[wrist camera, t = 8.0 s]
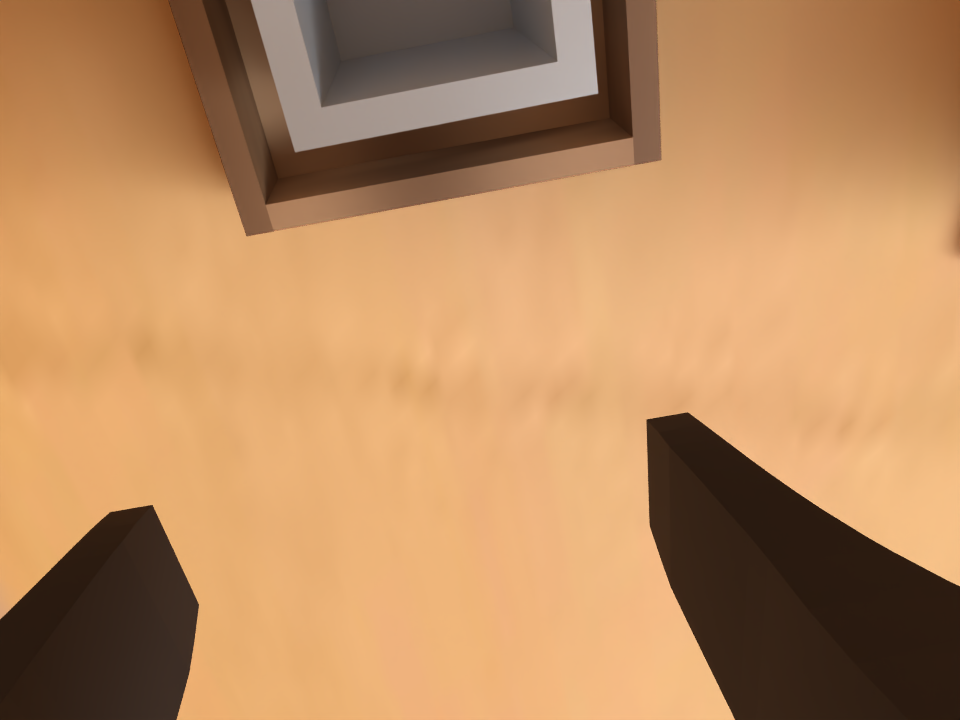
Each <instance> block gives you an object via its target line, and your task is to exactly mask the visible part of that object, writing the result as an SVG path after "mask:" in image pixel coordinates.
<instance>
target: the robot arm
mask: <svg viewBox="0 0 960 720" xmlns="http://www.w3.org/2000/svg"><path fill="white" fill-rule="evenodd" d="M647 452H648V485H649V518H650V528H651V531H652V534H653V537H654V540H655V543H656V546H657V549H658V552H659V555H660V558H661V561H662V563H663V566H664V569H665V572H666V575H667V577H668V580H669V583H670V586H671V588H672V590H673V592H674V595H675V597H676V599H677V601H678V603H679V605H680V607H681V609H682V611H683V613H684V616H685V618H686V620H687V622H688V624H689V626H690V628H691V630H692V632H693V634H694V636H695V638H696V640H697V642H698V644H699V646H700V649H701V651H702V653H703V655H704V657H705V659H706V661H707V663H708V665H709V667H710V669H711V671H712V673H713V675H714V677H715V679H716V681H717V683H718V685H719V687H720V689H721V691H722V694H723V696H724V698H725V700H726V702H727V704H728V706H729V708H730V710H731V712H732V714H733V716H734V718H735V720H960V586H958V585H956V584H954V583H951V582H949V581H947V580H945V579H943V578H942V577H940V576H938V575H936V574H934V573H932V572H930V571H928V570H926V569H924V568H923V567H921V566H919V565H917V564H915V563H913V562H911V561H909V560H907V559H906V558H904V557H902V556H900V555H898V554H896V553H894V552H892V551H891V550H889V549H887V548H885V547H883V546H882V545H880V544H878V543H876V542H875V541H873V540H871V539H869V538H868V537H866V536H864V535H863V534H861V533H859V532H858V531H856V530H855V529H853V528H851V527H850V526H848V525H847V524H845V523H843V522H842V521H840V520H838V519H837V518H835V517H834V516H832V515H830V514H829V513H827V512H825V511H824V510H822V509H821V508H819V507H818V506H816V505H815V504H813V503H812V502H810V501H809V500H807V499H806V498H804V497H803V496H801V495H800V494H798V493H797V492H795V491H794V490H792V489H791V488H790V487H788V486H787V485H785V484H784V483H782V482H781V481H780V480H778V479H777V478H775V477H774V476H772V475H771V474H770V473H768V472H767V471H765V470H764V469H763V468H761V467H760V466H759V465H757V464H756V463H754V462H753V461H752V460H750V459H749V458H748V457H746V456H745V455H744V454H742V453H741V452H740V451H738V450H737V449H736V448H734V447H733V446H732V445H730V444H729V443H728V442H726V441H725V440H724V439H723V438H721V437H720V436H719V435H717V434H716V433H715V432H713V431H712V430H711V429H709V428H708V427H707V426H705V425H704V424H703V423H701V422H700V421H699V420H697V419H696V418H695V417H693V416H692V415H691V414H689V413H682V414H676V415H670V416H664V417H659V418H653V419H647ZM198 608H199V604H198V602H197V599H196V597H195V595H194V593H193V591H192V589H191V587H190V584H189V582H188V580H187V578H186V576H185V574H184V572H183V570H182V567H181V565H180V563H179V561H178V559H177V557H176V555H175V552H174V550H173V548H172V546H171V544H170V542H169V540H168V537H167V535H166V533H165V531H164V529H163V527H162V525H161V522H160V520H159V518H158V516H157V514H156V512H155V510H154V507H153V505H150V506H144V507H138V508H132V509H127V510H121V511H115V512H110V513H109V514H108V515H107V516H105V517H104V518H103V519H102V520H101V521H100V522H99V523H98V524H97V525H95V526H94V527H93V528H92V529H91V530H90V531H89V532H88V533H87V534H86V535H85V536H84V537H83V538H82V539H81V540H80V541H79V542H78V543H77V544H76V545H75V546H74V547H73V548H72V549H71V550H70V551H69V552H68V553H67V554H66V555H65V556H64V557H63V558H62V559H61V560H60V561H59V562H58V563H57V564H56V565H55V566H54V567H53V568H52V569H51V570H50V571H49V572H48V573H47V574H46V575H45V576H44V577H43V578H42V579H41V580H40V581H39V582H38V583H37V584H36V585H35V586H34V587H33V588H32V589H31V590H30V591H29V592H28V593H27V594H26V595H25V596H24V597H23V598H22V599H21V600H20V601H19V602H18V603H17V604H16V605H15V606H14V607H13V608H12V609H11V610H10V611H9V612H8V613H6V614H5V615H4V616H3V617H2V618H1V619H0V720H176V719H177V716H178V712H179V708H180V705H181V701H182V698H183V694H184V690H185V687H186V683H187V679H188V675H189V671H190V665H191V659H192V652H193V646H194V639H195V631H196V624H197V616H198Z"/></svg>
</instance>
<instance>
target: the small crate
mask: <svg viewBox="0 0 960 720" xmlns="http://www.w3.org/2000/svg"><path fill="white" fill-rule="evenodd" d="M251 3H252V6H253V10H254V13H255V17H256V20H257V23H258V27H259V30H260V34H261V37H262V41H263V44H264V47H265V51H266V54H267V58H268V61H269V65H270V68H271V72H272V75H273V78H274V82H275V85H276V89H277V92H278V96H279V99H280V102H281V106H282V109H283V113H284V116H285V120H286V123H287V126H288V130H289V133H290V137H291V140H292V144H293V147H294V151H295V152H299V151H305V150H310V149H315V148H320V147H325V146H330V145H336V144H341V143H346V142H351V141H356V140H361V139H366V138H372V137H377V136H382V135H387V134H392V133H397V132H402V131H408V130H413V129H418V128H423V127H428V126H433V125H439V124H444V123H449V122H454V121H459V120H464V119H469V118H475V117H480V116H485V115H490V114H495V113H500V112H505V111H511V110H516V109H521V108H526V107H531V106H536V105H542V104H547V103H552V102H557V101H562V100H567V99H572V98H578V97H583V96H588V95H593V94H598V85H597V73H596V61H595V49H594V37H593V25H592V13H591V1H590V0H251Z"/></svg>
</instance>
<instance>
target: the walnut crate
mask: <svg viewBox="0 0 960 720" xmlns="http://www.w3.org/2000/svg"><path fill="white" fill-rule="evenodd" d="M168 1H169V4H170V7H171V10H172V13H173V16H174V19H175V22H176V25H177V28H178V31H179V34H180V37H181V40H182V43H183V46H184V49H185V52H186V55H187V58H188V61H189V64H190V67H191V70H192V73H193V76H194V79H195V82H196V85H197V88H198V91H199V94H200V97H201V100H202V103H203V106H204V109H205V112H206V115H207V118H208V121H209V124H210V127H211V130H212V133H213V136H214V139H215V143H216V146H217V149H218V152H219V155H220V158H221V161H222V164H223V167H224V170H225V173H226V176H227V179H228V182H229V185H230V188H231V191H232V194H233V197H234V200H235V203H236V206H237V209H238V212H239V215H240V218H241V221H242V224H243V227H244V230H245V233H246V236H251V235H256V234H262V233H267V232H273V231H278V230H284V229H289V228H295V227H300V226H305V225H311V224H316V223H322V222H327V221H333V220H338V219H343V218H349V217H354V216H360V215H365V214H371V213H376V212H382V211H387V210H392V209H398V208H403V207H409V206H414V205H420V204H425V203H430V202H436V201H441V200H447V199H452V198H458V197H463V196H469V195H474V194H479V193H485V192H490V191H496V190H501V189H507V188H512V187H518V186H523V185H528V184H534V183H539V182H545V181H550V180H556V179H561V178H566V177H572V176H577V175H583V174H588V173H594V172H599V171H605V170H610V169H615V168H621V167H626V166H632V165H637V164H643V163H648V162H653V161H659V160H661V134H660V104H659V73H658V43H657V13H656V0H590V1H591V13H592V25H593V37H594V49H595V61H596V73H597V85H598V94H593V95H588V96H583V97H578V98H572V99H567V100H562V101H557V102H552V103H547V104H542V105H536V106H531V107H526V108H521V109H516V110H511V111H505V112H500V113H495V114H490V115H485V116H480V117H475V118H469V119H464V120H459V121H454V122H449V123H444V124H439V125H433V126H428V127H423V128H418V129H413V130H408V131H402V132H397V133H392V134H387V135H382V136H377V137H372V138H366V139H361V140H356V141H351V142H346V143H341V144H336V145H330V146H325V147H320V148H315V149H310V150H305V151H299V152H295V151H294V147H293V144H292V140H291V137H290V133H289V130H288V126H287V123H286V120H285V116H284V113H283V109H282V106H281V102H280V99H279V96H278V92H277V89H276V85H275V82H274V78H273V75H272V72H271V68H270V65H269V61H268V58H267V54H266V51H265V47H264V44H263V41H262V37H261V34H260V30H259V27H258V23H257V20H256V17H255V13H254V10H253V6H252V3H251V0H168Z"/></svg>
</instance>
